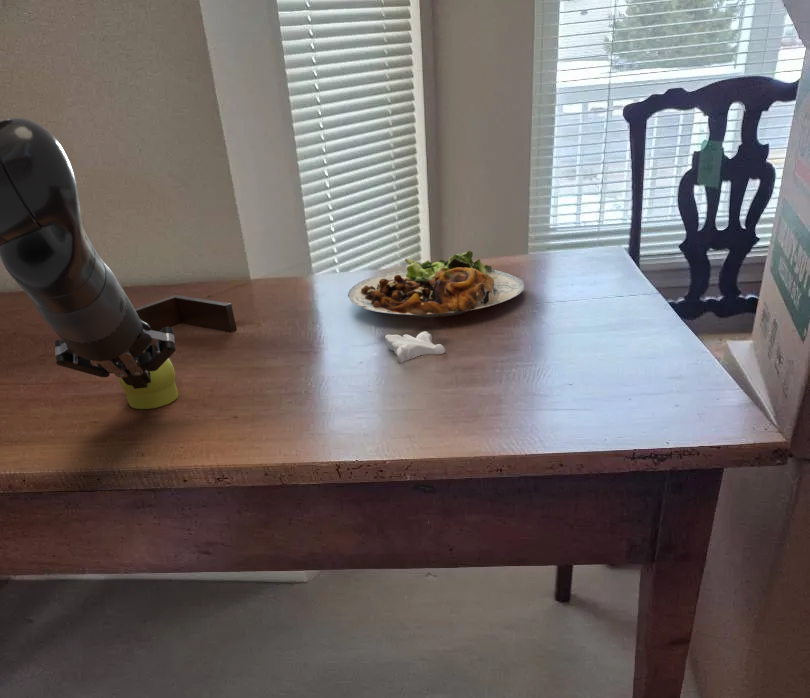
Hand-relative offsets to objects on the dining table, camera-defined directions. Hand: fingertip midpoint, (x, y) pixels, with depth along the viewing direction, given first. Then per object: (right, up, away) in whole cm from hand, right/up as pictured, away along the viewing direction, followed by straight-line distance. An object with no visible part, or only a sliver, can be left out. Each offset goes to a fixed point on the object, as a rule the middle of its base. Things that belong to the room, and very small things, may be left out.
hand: (140, 380), depth 86 cm
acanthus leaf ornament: (+32, +7, +13) cm, 35 cm away
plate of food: (+36, +19, +31) cm, 51 cm away
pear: (0, -1, +5) cm, 5 cm away
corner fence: (-4, +12, +26) cm, 29 cm away
